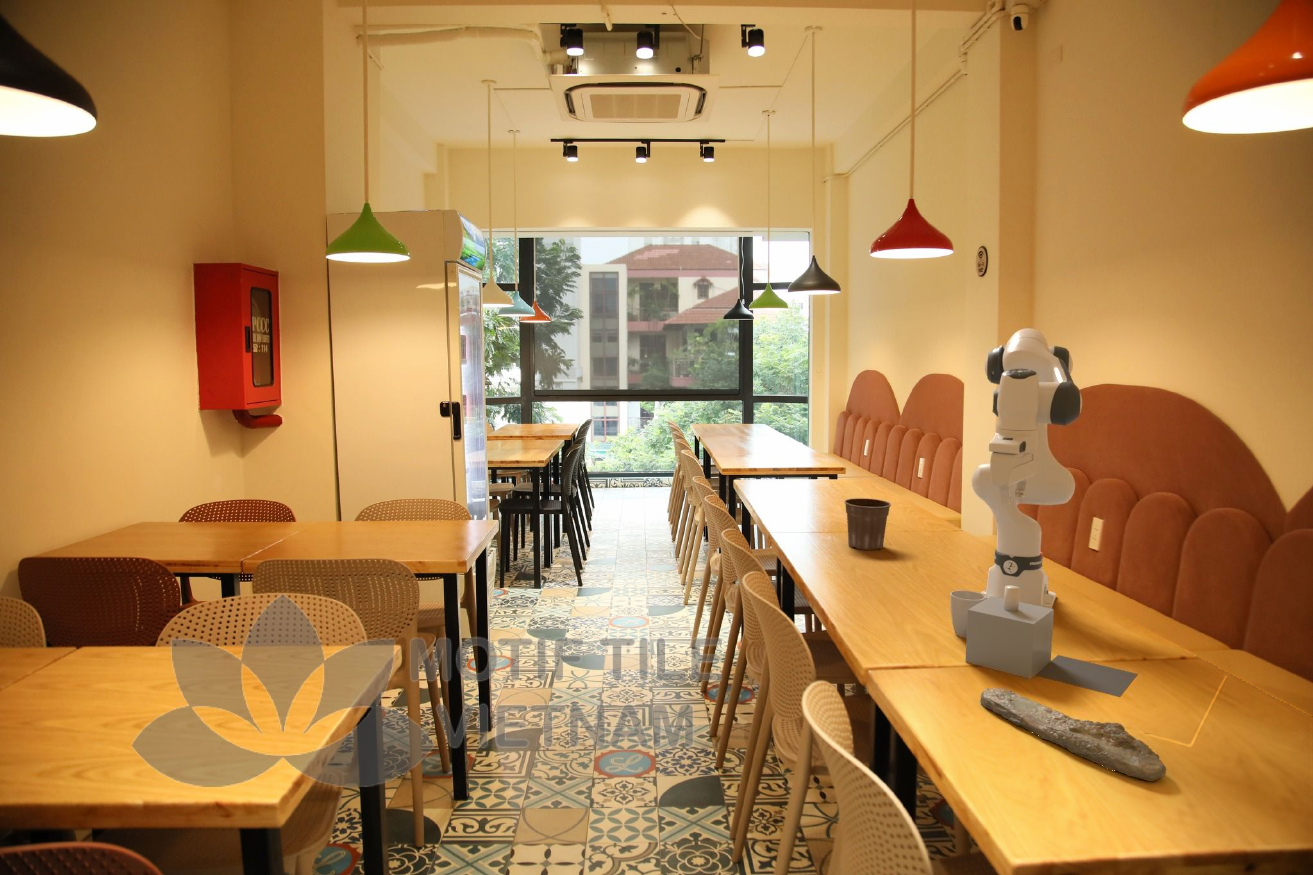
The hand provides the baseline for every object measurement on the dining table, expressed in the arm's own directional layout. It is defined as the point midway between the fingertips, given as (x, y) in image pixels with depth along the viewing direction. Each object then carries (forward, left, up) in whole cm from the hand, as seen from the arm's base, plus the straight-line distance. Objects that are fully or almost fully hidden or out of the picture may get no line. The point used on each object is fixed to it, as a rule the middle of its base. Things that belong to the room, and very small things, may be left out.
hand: (1013, 500), depth 185 cm
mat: (+5, +19, -35) cm, 40 cm away
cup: (-3, -10, -35) cm, 37 cm away
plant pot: (-71, -72, -36) cm, 107 cm away
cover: (+9, +4, -35) cm, 36 cm away
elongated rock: (+38, +23, -36) cm, 57 cm away
